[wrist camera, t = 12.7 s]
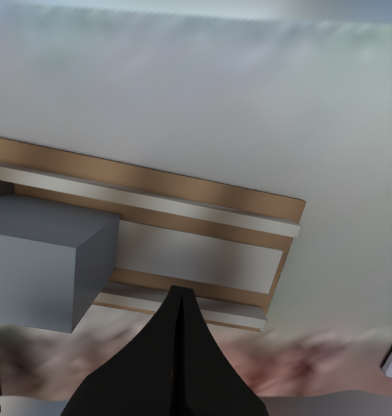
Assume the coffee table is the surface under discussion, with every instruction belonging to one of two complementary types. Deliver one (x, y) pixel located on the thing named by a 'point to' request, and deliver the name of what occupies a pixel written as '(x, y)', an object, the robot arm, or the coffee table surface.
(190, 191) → the din rail board
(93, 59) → the coffee table surface
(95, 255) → the block
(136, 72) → the coffee table surface
